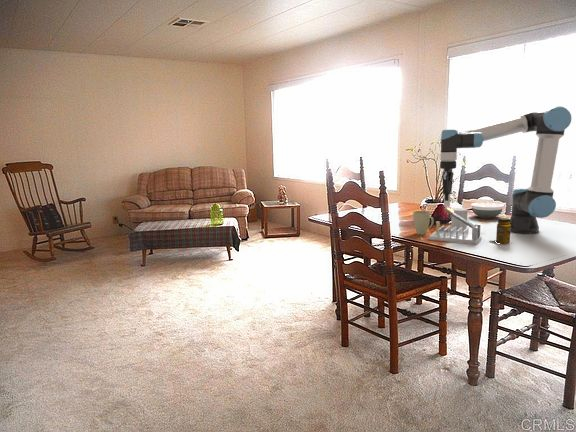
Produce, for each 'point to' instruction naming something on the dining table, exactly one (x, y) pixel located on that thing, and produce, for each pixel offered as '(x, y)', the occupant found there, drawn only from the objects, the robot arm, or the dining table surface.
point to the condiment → (503, 232)
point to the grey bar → (459, 217)
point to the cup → (456, 222)
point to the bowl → (487, 209)
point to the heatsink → (456, 234)
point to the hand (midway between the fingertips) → (446, 206)
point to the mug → (422, 221)
